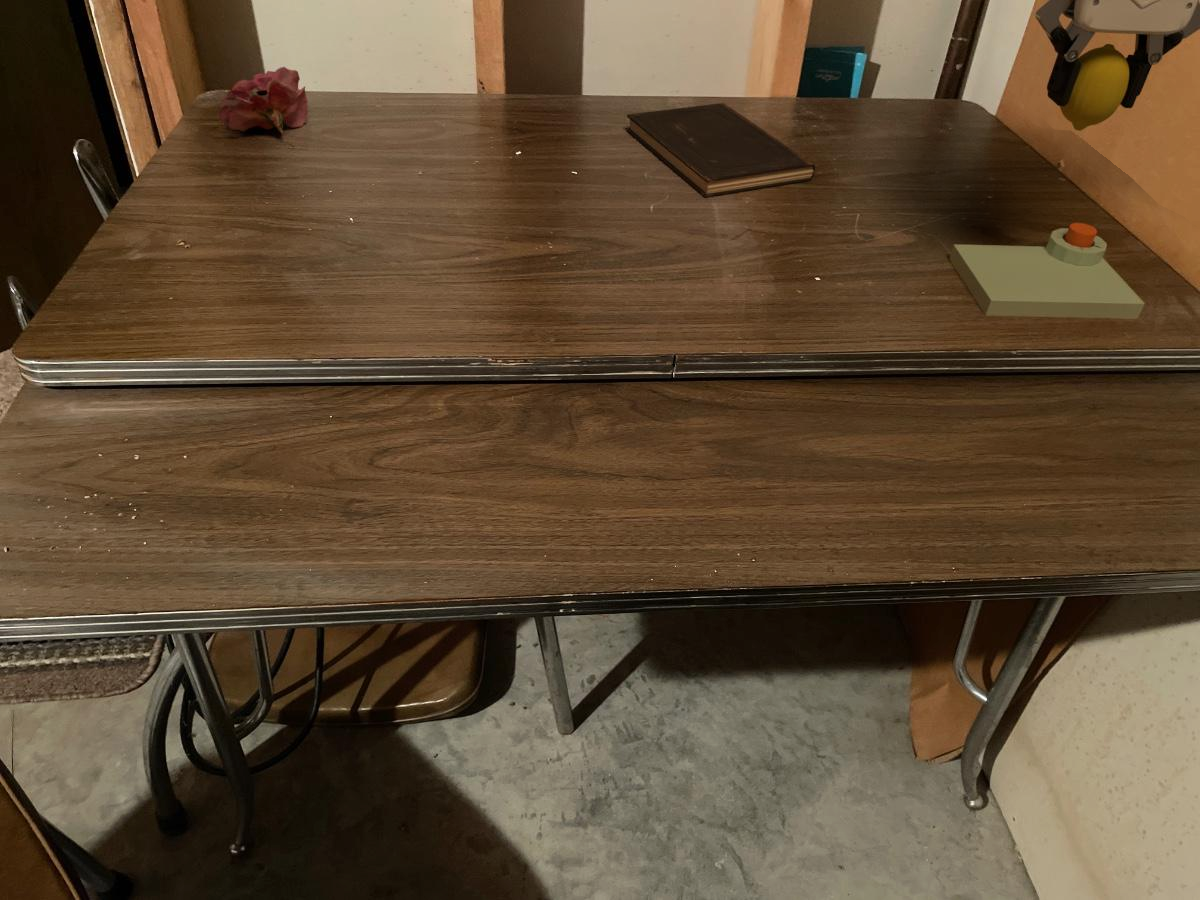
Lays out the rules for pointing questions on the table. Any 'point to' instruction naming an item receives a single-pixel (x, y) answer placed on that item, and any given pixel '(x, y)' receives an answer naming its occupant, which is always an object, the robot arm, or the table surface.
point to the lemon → (1097, 87)
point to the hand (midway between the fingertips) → (1089, 100)
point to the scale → (1045, 280)
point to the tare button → (1080, 235)
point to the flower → (266, 102)
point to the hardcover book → (718, 149)
